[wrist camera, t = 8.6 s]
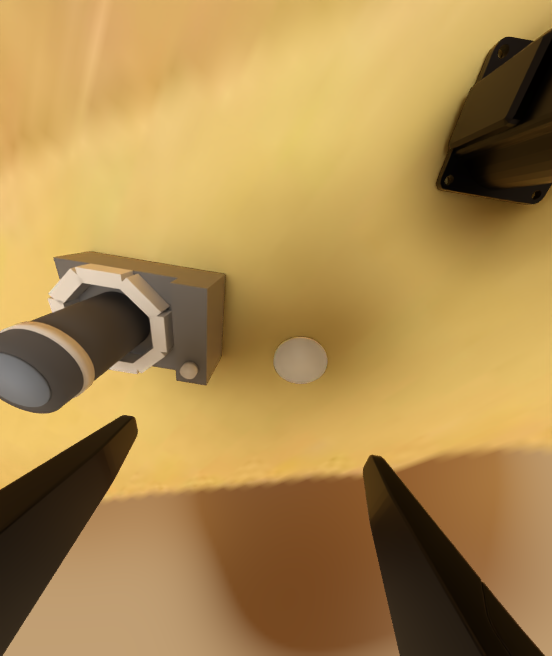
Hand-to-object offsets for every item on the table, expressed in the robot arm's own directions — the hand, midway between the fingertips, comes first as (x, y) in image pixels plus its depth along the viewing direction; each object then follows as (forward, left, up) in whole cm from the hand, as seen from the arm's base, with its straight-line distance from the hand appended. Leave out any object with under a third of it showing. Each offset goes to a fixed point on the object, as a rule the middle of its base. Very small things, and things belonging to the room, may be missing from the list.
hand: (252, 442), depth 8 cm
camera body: (+10, +1, -12) cm, 16 cm away
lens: (+11, +1, -9) cm, 15 cm away
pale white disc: (-3, +4, -12) cm, 13 cm away
